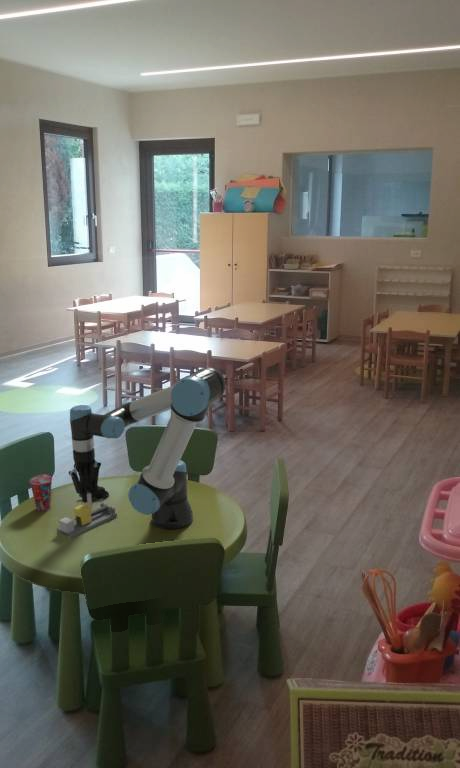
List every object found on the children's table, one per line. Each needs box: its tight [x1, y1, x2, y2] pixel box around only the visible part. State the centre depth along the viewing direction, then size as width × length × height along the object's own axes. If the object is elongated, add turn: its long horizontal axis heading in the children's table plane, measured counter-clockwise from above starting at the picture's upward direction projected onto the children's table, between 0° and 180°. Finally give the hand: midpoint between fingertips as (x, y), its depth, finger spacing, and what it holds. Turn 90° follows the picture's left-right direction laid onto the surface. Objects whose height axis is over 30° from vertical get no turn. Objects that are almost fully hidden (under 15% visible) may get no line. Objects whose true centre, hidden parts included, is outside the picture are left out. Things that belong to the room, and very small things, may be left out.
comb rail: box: [56, 502, 118, 539], centre depth 251 cm, size 21×8×5 cm, turn 139°
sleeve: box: [73, 503, 92, 525], centre depth 249 cm, size 4×4×6 cm
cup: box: [28, 473, 53, 512], centre depth 263 cm, size 9×8×12 cm
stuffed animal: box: [78, 484, 110, 505], centre depth 273 cm, size 12×10×12 cm
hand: (88, 509), depth 251 cm, fingers closed
